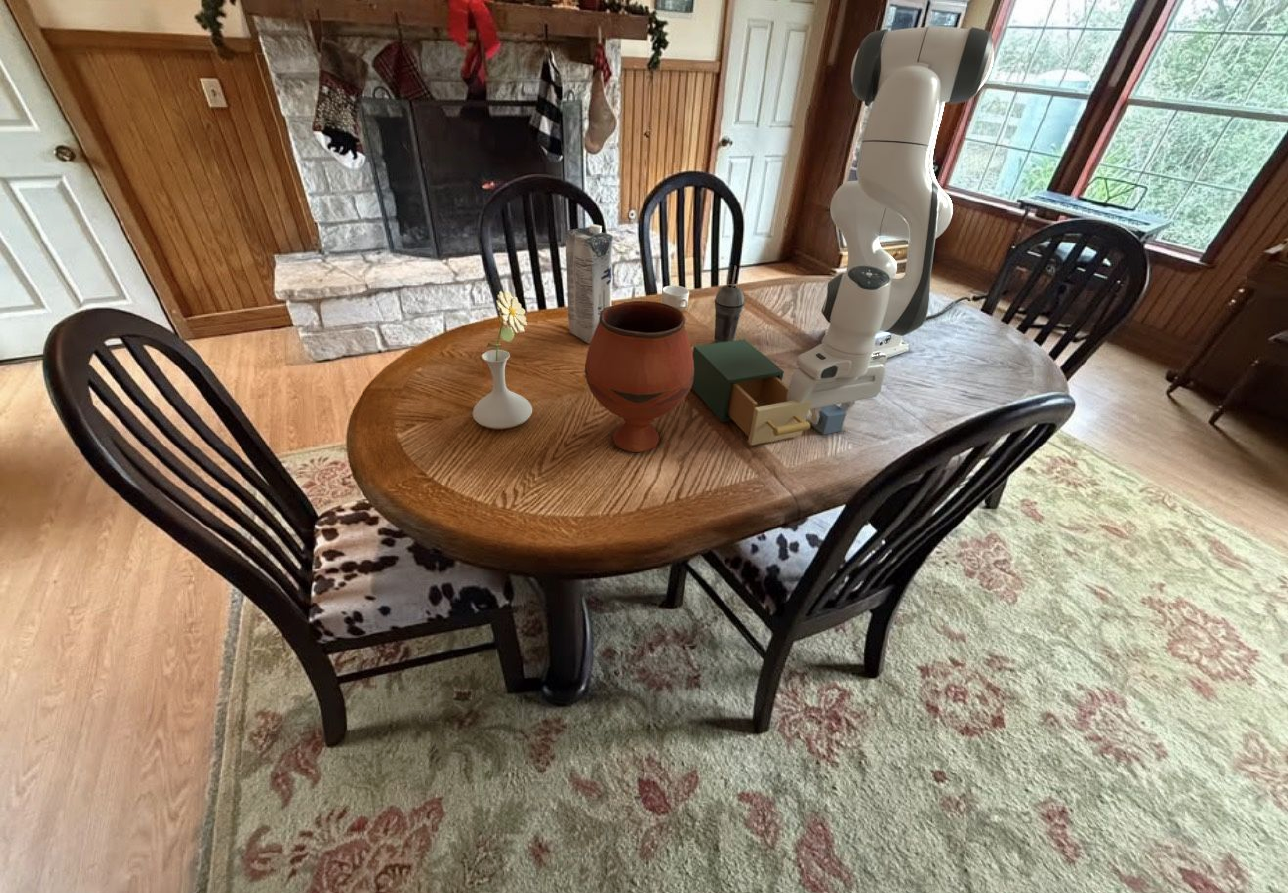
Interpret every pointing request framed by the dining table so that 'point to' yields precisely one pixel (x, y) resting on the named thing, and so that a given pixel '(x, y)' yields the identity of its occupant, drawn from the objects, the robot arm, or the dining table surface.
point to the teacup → (675, 296)
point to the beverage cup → (728, 311)
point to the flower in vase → (503, 373)
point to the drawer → (766, 410)
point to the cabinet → (727, 371)
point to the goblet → (639, 367)
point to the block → (830, 419)
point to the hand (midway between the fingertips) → (827, 420)
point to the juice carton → (587, 278)
